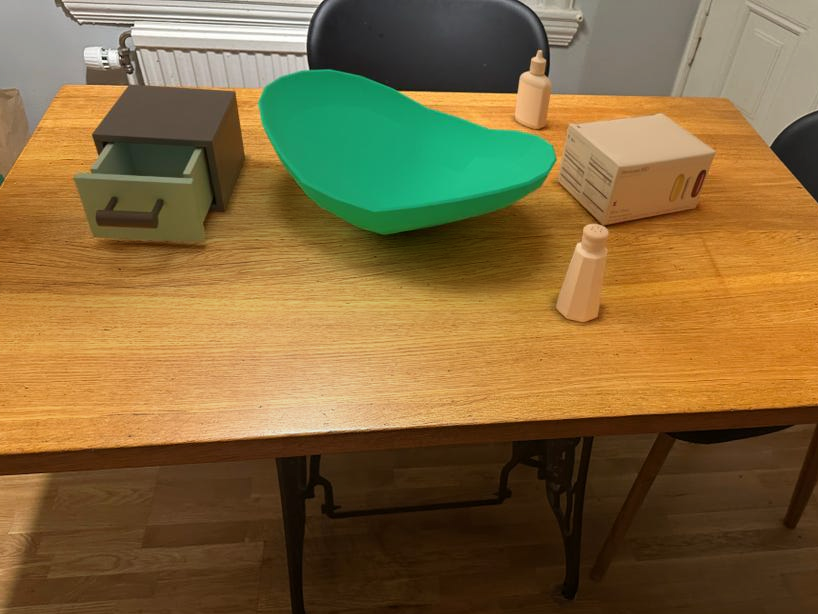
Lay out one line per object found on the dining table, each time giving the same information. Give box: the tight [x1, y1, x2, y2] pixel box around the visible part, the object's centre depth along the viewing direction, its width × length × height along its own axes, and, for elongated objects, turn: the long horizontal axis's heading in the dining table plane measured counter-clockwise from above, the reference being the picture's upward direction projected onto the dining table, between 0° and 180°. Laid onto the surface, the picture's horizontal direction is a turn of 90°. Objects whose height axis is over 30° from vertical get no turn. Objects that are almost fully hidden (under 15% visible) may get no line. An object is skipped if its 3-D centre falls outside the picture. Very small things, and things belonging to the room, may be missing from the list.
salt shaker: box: [555, 223, 610, 323], centre depth 79 cm, size 5×5×11 cm
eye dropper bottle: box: [514, 49, 552, 130], centre depth 115 cm, size 4×6×12 cm
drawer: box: [73, 142, 215, 243], centre depth 84 cm, size 18×13×8 cm
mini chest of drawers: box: [91, 83, 246, 212], centre depth 92 cm, size 15×14×10 cm
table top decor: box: [257, 68, 558, 236], centre depth 90 cm, size 40×28×13 cm
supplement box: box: [557, 112, 717, 227], centre depth 101 cm, size 17×13×9 cm
